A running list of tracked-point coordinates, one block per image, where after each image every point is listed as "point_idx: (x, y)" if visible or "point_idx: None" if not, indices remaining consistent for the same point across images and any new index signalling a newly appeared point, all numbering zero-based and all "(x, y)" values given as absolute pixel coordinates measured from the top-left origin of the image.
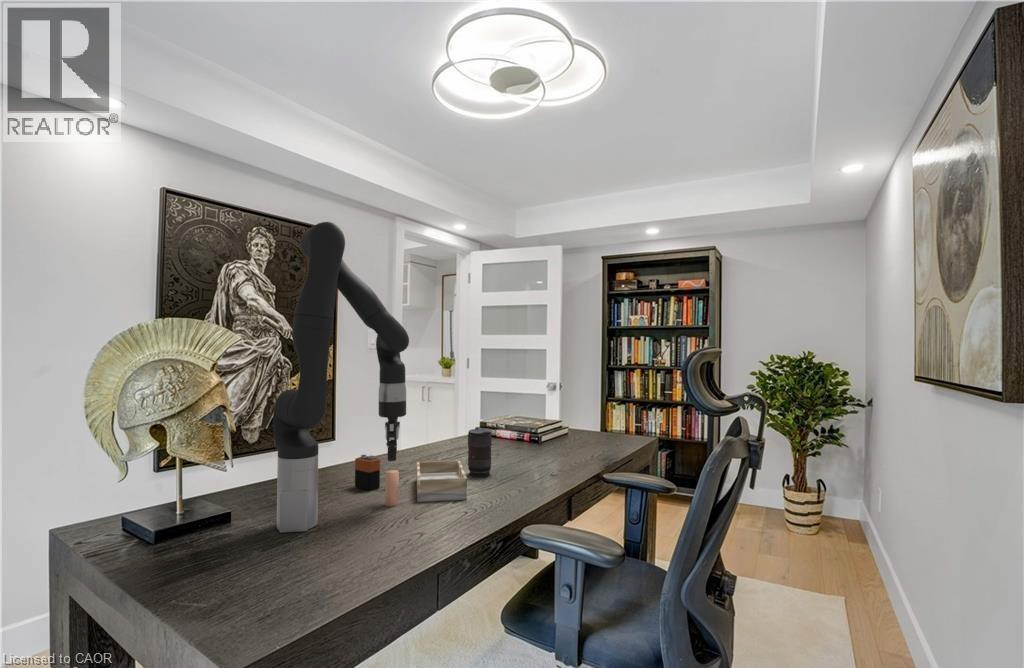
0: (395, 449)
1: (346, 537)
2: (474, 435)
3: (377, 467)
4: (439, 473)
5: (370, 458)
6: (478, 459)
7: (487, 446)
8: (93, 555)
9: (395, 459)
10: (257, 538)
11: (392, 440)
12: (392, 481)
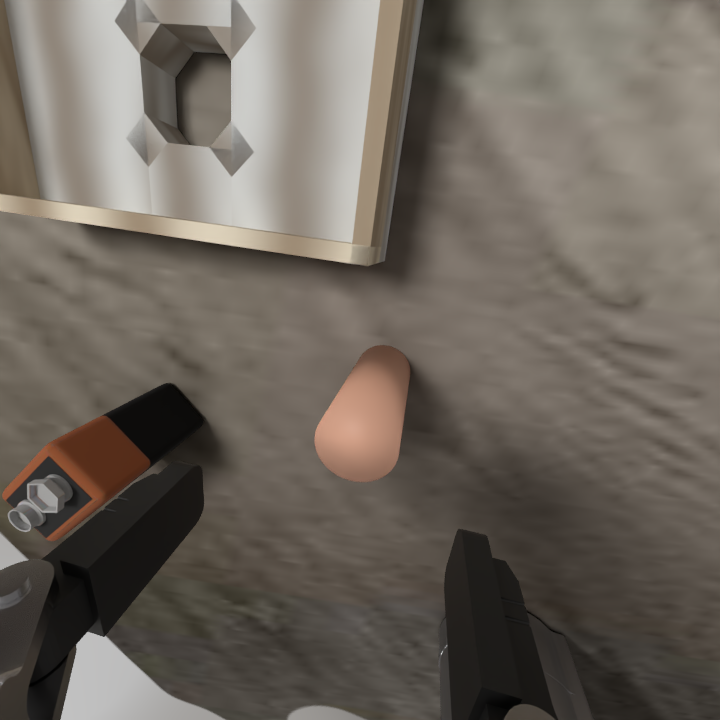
0: (513, 663)
1: (691, 561)
2: None
3: (105, 435)
4: (35, 70)
5: (63, 496)
6: None
7: None
8: None
9: (484, 541)
10: None
11: (85, 609)
12: (402, 424)
